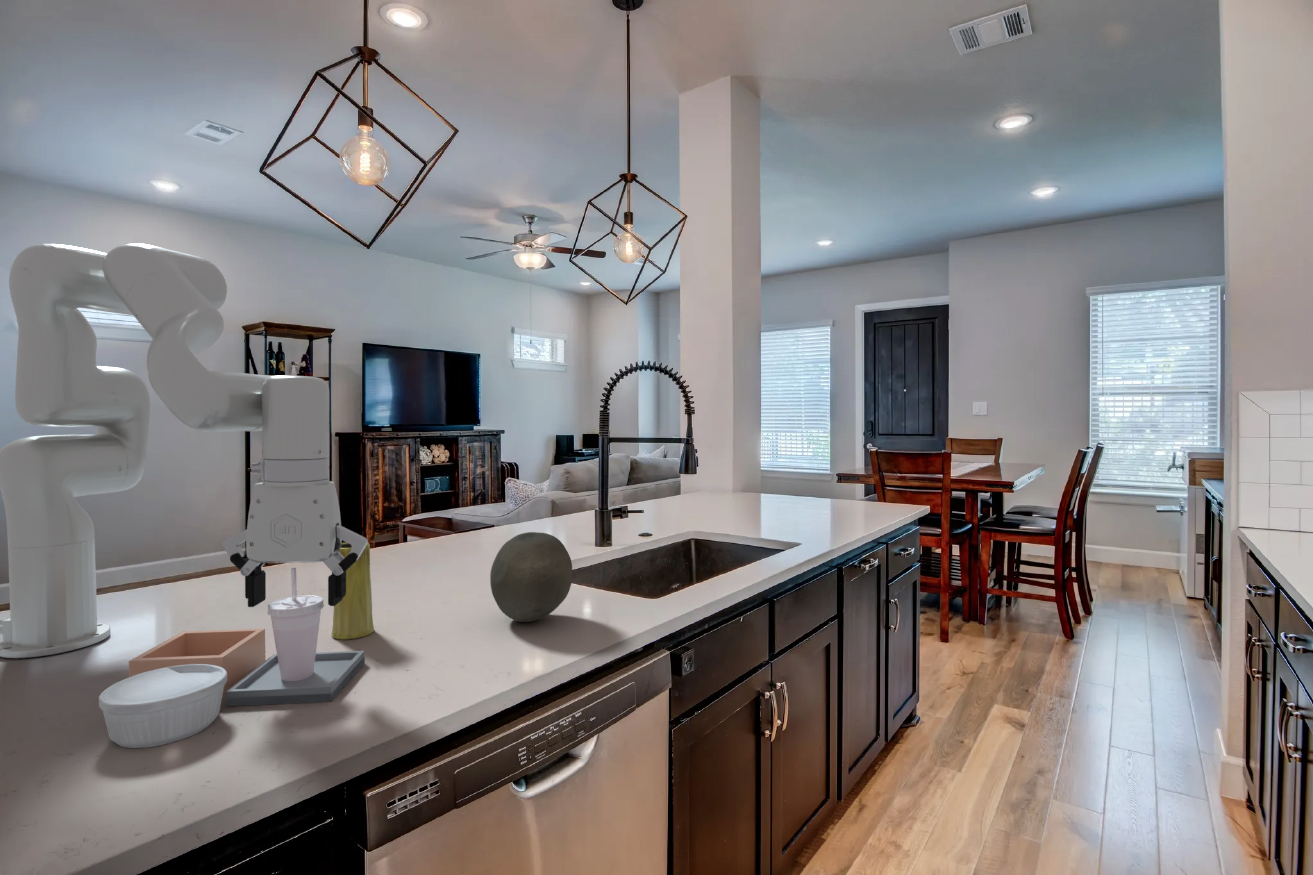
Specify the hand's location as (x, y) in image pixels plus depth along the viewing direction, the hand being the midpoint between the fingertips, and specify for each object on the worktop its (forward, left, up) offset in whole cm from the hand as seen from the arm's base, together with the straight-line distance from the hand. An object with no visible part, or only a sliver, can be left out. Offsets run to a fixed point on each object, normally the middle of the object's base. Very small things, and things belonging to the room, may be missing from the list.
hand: (296, 603), depth 83 cm
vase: (0, +19, -11) cm, 22 cm away
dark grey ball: (+28, +22, -11) cm, 37 cm away
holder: (-13, +2, -10) cm, 16 cm away
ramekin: (-9, -11, -11) cm, 18 cm away
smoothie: (0, 0, -10) cm, 10 cm away
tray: (0, 0, -10) cm, 10 cm away
